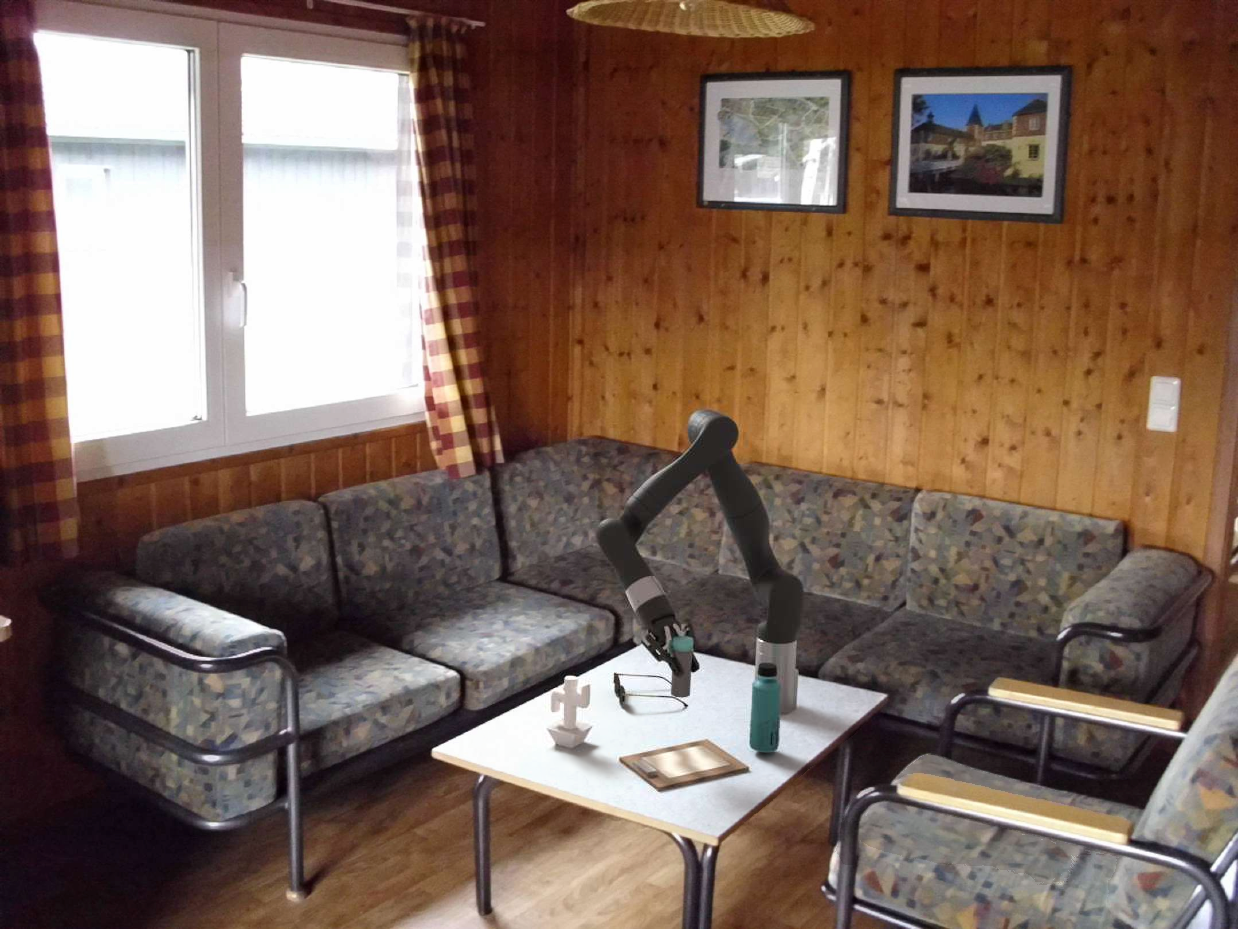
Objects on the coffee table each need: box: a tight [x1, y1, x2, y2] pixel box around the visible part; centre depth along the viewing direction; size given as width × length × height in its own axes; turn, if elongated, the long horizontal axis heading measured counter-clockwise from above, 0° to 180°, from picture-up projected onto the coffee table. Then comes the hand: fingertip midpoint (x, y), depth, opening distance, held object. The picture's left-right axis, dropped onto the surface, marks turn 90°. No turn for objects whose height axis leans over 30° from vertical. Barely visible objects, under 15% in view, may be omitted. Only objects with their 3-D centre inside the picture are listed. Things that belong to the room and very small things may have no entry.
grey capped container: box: [670, 636, 693, 699], centre depth 280 cm, size 4×4×12 cm
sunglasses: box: [613, 672, 689, 708], centre depth 318 cm, size 14×16×5 cm
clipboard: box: [618, 738, 750, 792], centre depth 281 cm, size 22×16×2 cm
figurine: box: [546, 675, 594, 749], centre depth 290 cm, size 7×9×15 cm
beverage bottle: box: [748, 662, 781, 753], centre depth 287 cm, size 6×7×20 cm
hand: (688, 672), depth 278 cm, fingers closed on grey capped container, 4 cm apart
